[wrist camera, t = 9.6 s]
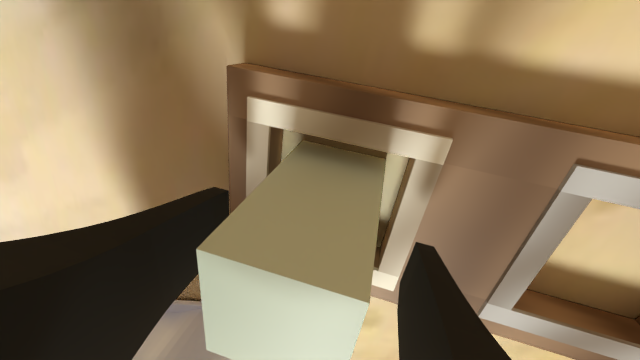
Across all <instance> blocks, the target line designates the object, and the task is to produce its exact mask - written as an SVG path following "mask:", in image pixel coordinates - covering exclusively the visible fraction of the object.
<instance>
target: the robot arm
mask: <svg viewBox="0 0 640 360" xmlns="http://www.w3.org/2000/svg"><path fill="white" fill-rule="evenodd" d="M228 216H229V191H227V190H224V189H220V188H216V187H213V188H209V189H206V190H203V191H200V192H197V193H194V194H191V195H188V196H186V197H183V198H180V199H177V200H174V201H172V202H169V203H166V204H163V205H160V206H157V207H154V208H151V209H148V210H145V211H142V212H139V213H136V214H132V215H129V216H126V217H123V218H119V219H116V220H112V221H108V222H104V223H100V224H96V225H92V226H88V227H84V228H79V229H74V230H69V231H64V232H59V233H54V234H49V235H44V236H38V237H32V238H26V239H20V240H13V241H6V242H0V360H232V359H229V358H227V357H224V356H221V355H219V354H216V353H213V352H211V351H208V350H206V341H205V331H204V321H203V312H202V302H201V301H185V300H175V299H176V298H177V297H178V296H179V295H180V294H181V293H182V291H183V290H184V289H185V288H186V287H187V286H188V285H189V283H190V282H191V281H192V280H193V279H194V278H195V277H196V275H197V274H198V273H199V272H198V262H197V253H196V249H197V248H198V247H199V246H200V245H201V244H202V243H203V242H204V240H205V239H206V238H207V237H208V236H209V235H210V234H211V233H212V232H213V231H214V230H215V229H216V228H217V227H218V226H219V225H220V224H221V223H222V222H223V221H224V220H225V219H226V218H227V217H228ZM398 338H399V360H511V358H510V357H509V356H508V355H507V353H506V352H505V351H504V350H503V349H502V347H501V346H500V345H499V344H498V342H497V341H496V340H495V338H494V337H493V336H492V335H491V333H490V332H489V331H488V329H487V328H486V326H485V325H484V324H483V322H482V321H481V319H480V318H479V317H478V315H477V314H476V313H475V311H474V310H473V308H472V307H471V305H470V304H469V302H468V301H467V299H466V298H465V296H464V295H463V293H462V292H461V290H460V289H459V287H458V285H457V284H456V282H455V281H454V279H453V277H452V276H451V274H450V272H449V271H448V269H447V267H446V266H445V264H444V262H443V261H442V259H441V257H440V256H439V254H438V252H437V251H436V249H435V247H434V246H430V245H426V244H423V243H419V242H416V243H415V246H414V248H413V251H412V253H411V256H410V258H409V261H408V263H407V266H406V268H405V271H404V273H403V276H402V278H401V280H400V285H399V296H398Z"/></svg>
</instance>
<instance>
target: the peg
mask: <svg viewBox="0 0 640 360" xmlns="http://www.w3.org/2000/svg"><path fill="white" fill-rule="evenodd" d="M385 164H386V159H383V158H379V157H375V156H370V155H366V154H361V153H357V152H353V151H348V150H344V149H339V148H335V147H331V146H326V145H322V144H317V143H313V142H309V141H304V140H303V141H302V142H301V143H300V144H299V145H298V146H297V147H296V148H295V149H294V150H293V151H292V152H291V153H290V154H289V155H288V156H287V157H286V158H285V159H284V160H283V161H282V162H281V163H280V164H279V165H278V166H277V167H276V168H275V169H274V170H273V171H272V172H271V173H270V174H269V175H268V176H267V177H266V178H265V179H264V180H263V181H262V182H261V183H260V184H259V185H258V186H257V187H256V189H255V190H254V191H253V192H252V193H251V194H250V195H249V196H248V197H247V198H246V199H245V200H244V201H243V202H242V203H241V204H240V205H239V206H238V207H237V208H236V209H235V210H234V211H233V212H232V213H231V214H230V215H229V216H228V217H227V218H226V219H225V220H224V221H223V222H222V223H221V224H220V225H219V226H218V227H217V228H216V229H215V230H214V231H213V232H212V233H211V234H210V235H209V236H208V237H207V238H206V239H205V240H204V242H203V243H202V244H201V245H200V246H199V247H198V248H197V249H196V253H197V262H198V272H199V282H200V292H201V302H202V312H203V321H204V331H205V341H206V350H208V351H211V352H213V353H216V354H219V355H221V356H224V357H227V358H229V359H232V360H350V359H351V356H352V353H353V350H354V347H355V344H356V341H357V338H358V335H359V332H360V330H361V327H362V324H363V321H364V318H365V315H366V312H367V309H368V306H369V303H370V294H371V286H372V277H373V268H374V260H375V251H376V242H377V234H378V225H379V216H380V207H381V199H382V190H383V181H384V173H385Z"/></svg>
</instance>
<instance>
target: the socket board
mask: <svg viewBox="0 0 640 360" xmlns="http://www.w3.org/2000/svg"><path fill="white" fill-rule="evenodd" d="M227 99H228V143H229V187H230V214H231V213H232V212H233V211H234V210H235V209H236V208H237V207H238V206H239V205H240V204H241V203H242V202H243V201H244V200H245V199H246V198H247V197H248V196H249V195H250V194H251V193H252V192H253V191H254V190H255V189H256V187H257V186H258V185H259V184H260V183H261V182H262V181H263V180H264V179H265V178H266V177H267V176H268V175H269V174H270V173H271V172H272V171H273V170H274V169H275V168H276V167H277V166H278V165H279V164H280V162H281V149H282V136H283V129H285V130H289V131H294V132H298V133H303V134H307V135H311V136H316V137H320V138H325V139H329V140H334V141H338V142H343V143H347V144H352V145H356V146H360V147H365V148H369V149H374V150H378V151H383V152H387V153H392V154H396V155H401V156H405V157H409V158H410V159H409V162H408V165H407V168H406V171H405V174H404V177H403V180H402V183H401V186H400V189H399V192H398V196H397V199H396V202H395V205H394V208H393V211H392V214H391V217H390V220H389V223H388V226H387V229H386V233H385V236H384V239H383V242H382V245H381V248H377V247H376V251H375V260H374V268H373V277H372V286H371V294H370V296H373V297H376V298H379V299H382V300H385V301H389V302H392V303H395V304H398V296H399V285H400V280H401V278H402V276H403V273H404V271H405V268H406V266H407V263H408V261H409V258H410V256H411V253H412V251H413V248H414V246H415V243H416V242H419V243H423V244H426V245H430V246H434V247H435V249H436V251H437V252H438V254H439V256H440V257H441V259H442V261H443V262H444V264H445V266H446V267H447V269H448V271H449V272H450V274H451V276H452V277H453V279H454V281H455V282H456V284H457V285H458V287H459V289H460V290H461V292H462V293H463V295H464V296H465V298H466V299H467V301H468V302H469V304H470V305H471V307H472V308H473V310H474V311H475V313H476V314H477V315H478V317H479V318H480V319H481V321H482V322H483V324H484V325H485V326H486V328H487V329H488V331H489V332H490V333H492V334H495V335H498V336H501V337H505V338H508V339H511V340H514V341H518V342H521V343H524V344H527V345H530V346H534V347H537V348H540V349H543V350H547V351H550V352H553V353H556V354H559V355H563V356H566V357H569V358H572V359H576V360H640V316H639V317H638V318H637V319H636V320H634V319H630V318H627V317H623V316H619V315H616V314H612V313H609V312H605V311H602V310H598V309H595V308H591V307H587V306H584V305H580V304H577V303H573V302H570V301H566V300H563V299H559V298H555V297H552V296H548V295H545V294H541V293H538V292H534V291H530V290H527V287H528V286H529V285H530V283H531V282H532V281H533V279H534V278H535V276H536V275H537V274H538V272H539V271H540V270H541V268H542V267H543V266H544V264H545V263H546V261H547V260H548V259H549V257H550V256H551V255H552V253H553V252H554V251H555V249H556V248H557V246H558V245H559V244H560V242H561V241H562V240H563V238H564V237H565V235H566V234H567V233H568V231H569V230H570V229H571V227H572V226H573V225H574V223H575V222H576V220H577V219H578V218H579V216H580V215H581V214H582V212H583V211H584V210H585V208H586V207H587V205H588V204H589V203H590V201H591V200H592V199H596V200H601V201H605V202H610V203H614V204H619V205H623V206H628V207H632V208H637V209H640V137H635V136H630V135H625V134H619V133H614V132H609V131H603V130H598V129H593V128H588V127H582V126H577V125H572V124H566V123H561V122H556V121H550V120H545V119H540V118H534V117H529V116H524V115H519V114H513V113H508V112H503V111H497V110H492V109H487V108H481V107H476V106H471V105H465V104H460V103H455V102H450V101H444V100H439V99H434V98H428V97H423V96H418V95H412V94H407V93H402V92H396V91H391V90H386V89H380V88H375V87H370V86H365V85H359V84H354V83H349V82H343V81H338V80H333V79H327V78H322V77H317V76H311V75H306V74H301V73H296V72H290V71H285V70H280V69H274V68H269V67H264V66H258V65H253V64H248V63H242V64H235V65H228V66H227Z"/></svg>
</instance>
